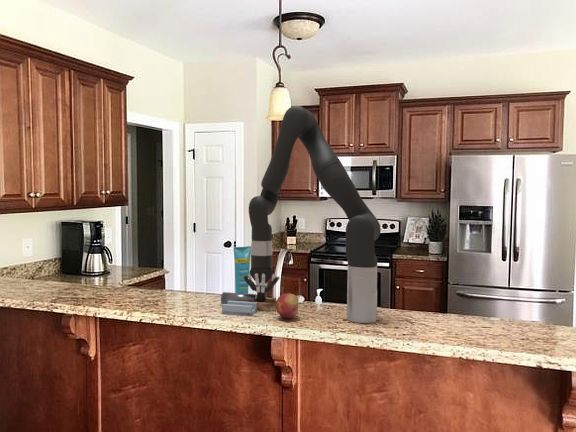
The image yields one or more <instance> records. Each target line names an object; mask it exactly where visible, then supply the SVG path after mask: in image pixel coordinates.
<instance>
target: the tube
mask: <svg viewBox="0 0 576 432" xmlns="http://www.w3.org/2000/svg"><path fill="white" fill-rule="evenodd" d="M233 258H234V278H235V279H234V280H235V283H234V285H235V287H234V288H235V292H234V293H245V294H249V287H250V286H249V285H248V284H247V282H246V281H245V280H244V276H246V275H248V274H249V272H250V269H251V245H250V246H249V245H247V246H233Z"/></svg>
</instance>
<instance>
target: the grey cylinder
mask: <svg viewBox="0 0 576 432" xmlns="http://www.w3.org/2000/svg"><path fill="white" fill-rule="evenodd" d="M228 301H248V302H257V293H248V294H245V293H235V292H228V291H227V292H226V291H223V292H222V293H221V296H220V304H221V306H222V305H223V304H227V302H228Z"/></svg>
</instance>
